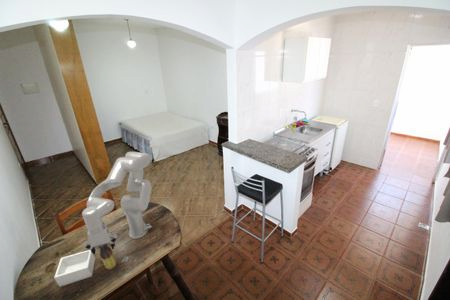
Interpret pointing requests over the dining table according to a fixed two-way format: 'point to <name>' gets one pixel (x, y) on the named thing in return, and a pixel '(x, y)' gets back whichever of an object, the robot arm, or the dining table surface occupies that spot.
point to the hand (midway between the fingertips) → (104, 250)
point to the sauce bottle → (107, 257)
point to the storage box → (75, 268)
